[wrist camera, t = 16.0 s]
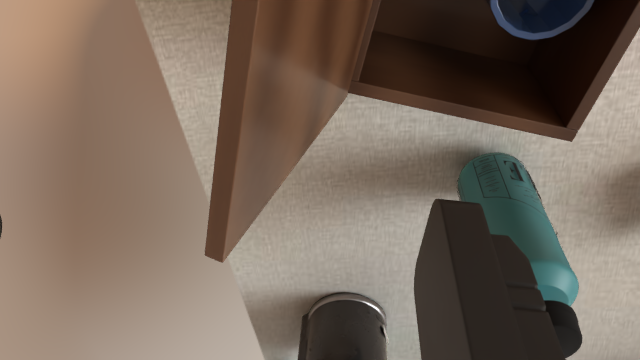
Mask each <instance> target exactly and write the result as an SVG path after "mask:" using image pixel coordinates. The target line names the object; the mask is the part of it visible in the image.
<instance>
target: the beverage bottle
mask: <svg viewBox="0 0 640 360" xmlns="http://www.w3.org/2000/svg"><path fill="white" fill-rule="evenodd" d="M520 162H521V161H520ZM520 162H519V161H518V159H516V158H514V157H512V156H510V155H508V154H504V153H488V154H484V155H481V156H478V157H476V158H474V159H473V160H471V161H470V162H469V163H468V164H467V165H466V166H465V167H464V168H463V169H462V171H461V173H460V176H459V178H458V179H459V180H458V181H457V182H458V187H456V188H457V189H458V191H459V195H460V199H461V201H464V202H474V203H479V204H481V206H482V208H483V211H484V214H485V218H486V221H487V224H488V228H489V231H490V234H496V235H506V236H509V237H510V238H511V239H512V241H513V242H514V243H515V244H516V245H517V246H518V247H519V249H520V250H521V251H522V252H523V253H524V254H525V255H526V256H527V258H528V259H529V261H530V264H531V267H532V269H533V272H534V275H535V278H536V280H537V283H538V290H540V291H541V294H542V297H543V299H544V302H545V305H546V312H548V313H549V316H550V318H551V321H552V324H553V327H554V329H555V332H556V335H557V337H558V340H559V343H560V346H561V348H562V351H563V354H564V356H565V358H567V357H569V356H571V355H572V354H574V353H575V352H576V351H577V350H578V349H579V348H580V346H581V344H582V334H581V331H580V328H579V325H578V319H577V316H576V314H575V312H574V310H573V309H572V308H571V307H570V306H571V305H572V303H573V302H574V300H575V298H576V296H577V294H578V288H579V285H578V280H577V277H576V275H575V273H574V272H573V271H572V269H571V267H570V265H569V263H568V261H567V259H566V256H565V254H564V251H563V250H562V248H561V246H560V244H559V241H558V238H557V236H556V235H557V234H555V232H554V229H553V227H552V225H553V224H552V225H551V223H550V221H549V219H548V217H547V215H546V212H545V210H544V209H545V208H544V207H543V206H544V205H543V206H542V202H540V200H539V197H540V195H537V194H539V193H536V192H538V191H536V190H537V189H536V188H535V187H536V186H535V184H533V183H534V182H532V181H533V180H531V179H532V178H531V177H530V175H529V173H528V171H527V170H526V169H525V168H524V165H522V164H521V163H520ZM525 167H526V166H525ZM531 182H532V183H531ZM457 193H458V192H457ZM538 196H539V197H538ZM458 197H459V196H458ZM540 199H541V198H540ZM541 201H542V200H541ZM562 247H563V246H562Z"/></svg>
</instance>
